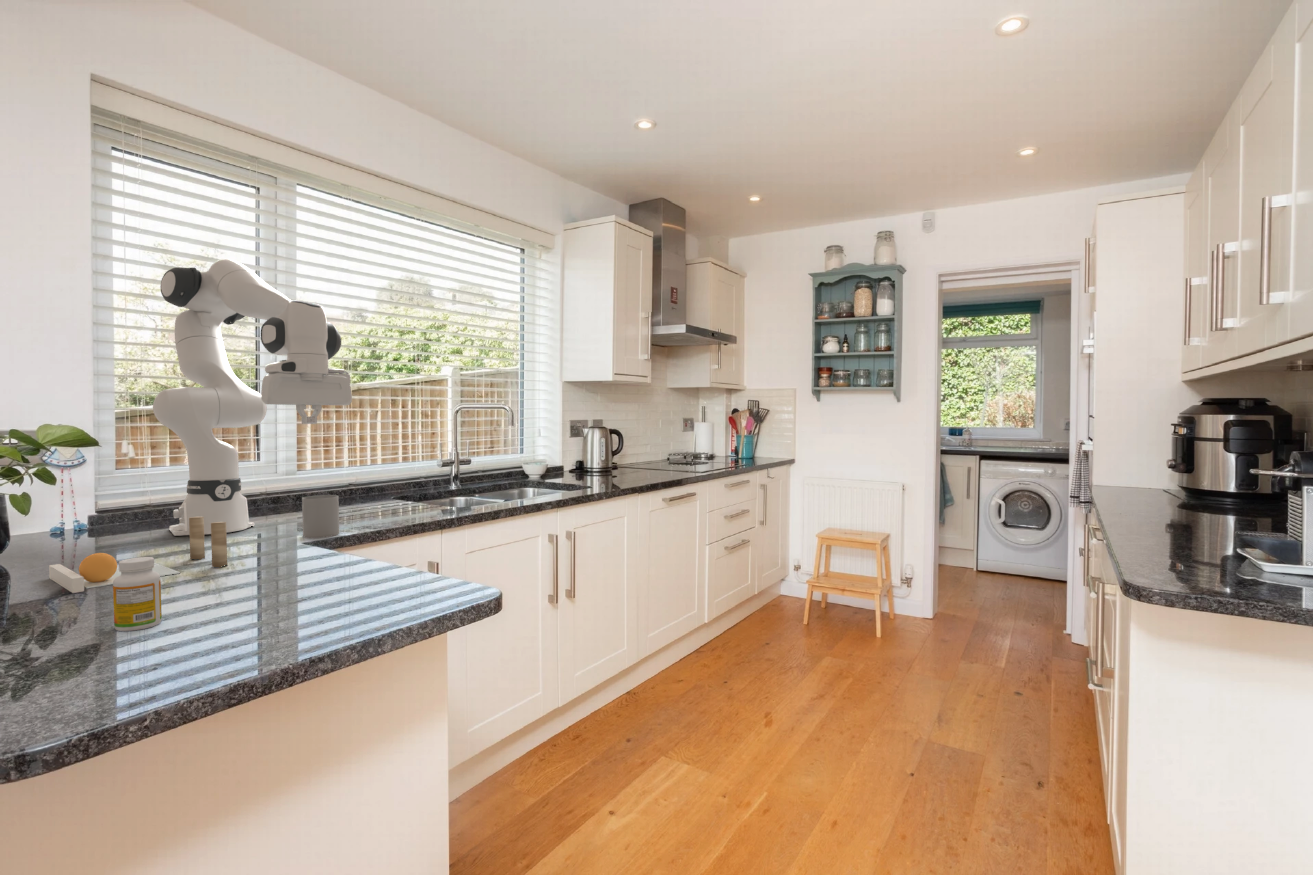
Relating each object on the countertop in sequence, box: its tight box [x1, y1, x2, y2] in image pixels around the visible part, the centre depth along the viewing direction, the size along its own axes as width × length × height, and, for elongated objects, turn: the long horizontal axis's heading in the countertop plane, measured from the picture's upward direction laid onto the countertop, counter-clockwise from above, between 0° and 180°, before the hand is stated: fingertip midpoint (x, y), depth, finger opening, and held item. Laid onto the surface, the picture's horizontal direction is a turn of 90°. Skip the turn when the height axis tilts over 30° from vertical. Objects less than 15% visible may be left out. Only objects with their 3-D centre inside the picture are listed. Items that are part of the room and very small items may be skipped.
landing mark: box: [84, 562, 181, 589], centre depth 125 cm, size 14×14×1 cm
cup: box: [301, 494, 340, 539], centre depth 168 cm, size 8×8×10 cm
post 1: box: [189, 517, 206, 560], centre depth 140 cm, size 3×3×9 cm
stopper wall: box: [48, 563, 85, 594], centre depth 118 cm, size 18×2×2 cm, turn 53°
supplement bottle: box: [112, 556, 163, 632], centre depth 93 cm, size 5×5×10 cm
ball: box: [78, 552, 118, 582], centre depth 120 cm, size 5×5×5 cm
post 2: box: [210, 522, 228, 568], centre depth 132 cm, size 3×3×9 cm
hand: (309, 423), depth 158 cm, fingers closed
